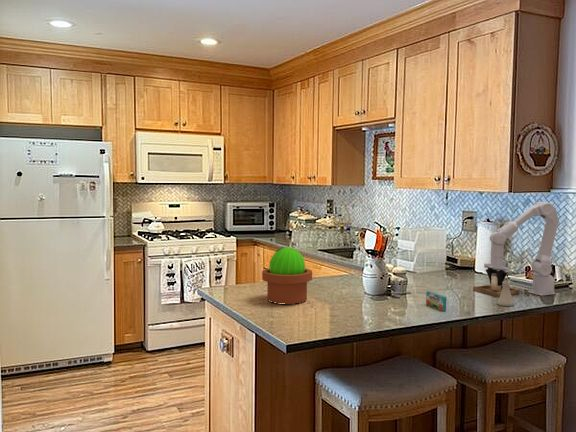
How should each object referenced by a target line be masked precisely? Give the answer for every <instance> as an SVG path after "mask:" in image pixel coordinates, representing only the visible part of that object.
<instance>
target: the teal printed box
mask: <svg viewBox="0 0 576 432" xmlns="http://www.w3.org/2000/svg"><path fill="white" fill-rule="evenodd" d="M425 292H426V293H425V296H426V297H425V303H426V304H425V305H426V306H428V307H430V308H433V309H435V308H436V309H435V310H438V311H441V312H446V311H447V296H445V295H442V294H439V293H436V292H434V291H430V290H427V291H425Z"/></svg>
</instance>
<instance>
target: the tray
mask: <svg viewBox="0 0 576 432" xmlns="http://www.w3.org/2000/svg"><path fill="white" fill-rule="evenodd" d="M509 288H510V293H511V296H515V295H520V289H517V288H513V287H509ZM502 289H503V285H502V286H501V290H491V284H488V285H487V284H486V285H478V286H477V285H476V286H473V292H477V293H481V294H484V295H487V296H491V297H495V298H499V297H500V295H501V292H502Z"/></svg>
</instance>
